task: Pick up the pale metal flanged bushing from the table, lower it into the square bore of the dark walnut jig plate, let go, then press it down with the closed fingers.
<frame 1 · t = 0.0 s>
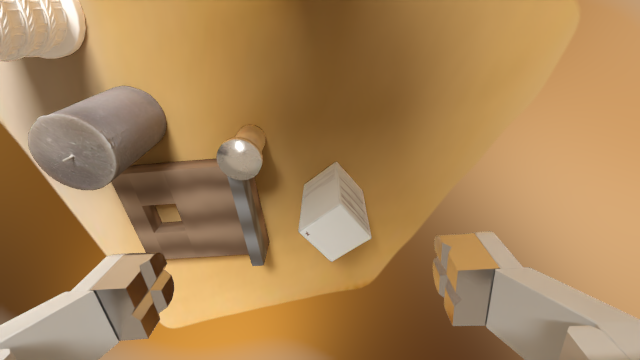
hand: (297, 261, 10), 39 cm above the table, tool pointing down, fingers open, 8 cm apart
decorative container: (40, 10, 41), on the table
pillar candle: (135, 116, 48), on the table
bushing: (251, 137, 49), on the table
supplement box: (333, 186, 54), on the table
jig: (199, 206, 56), on the table
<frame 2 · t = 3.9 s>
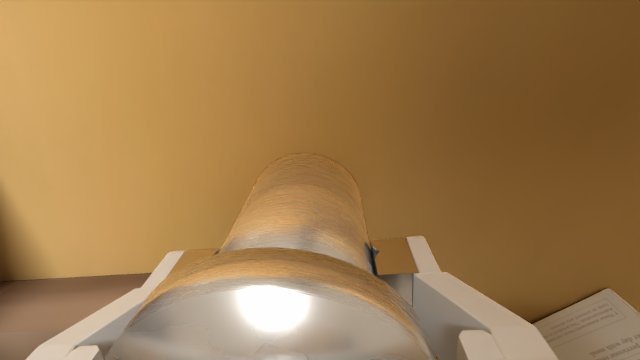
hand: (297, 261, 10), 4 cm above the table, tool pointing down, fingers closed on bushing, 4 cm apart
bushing: (306, 204, 13), on the table, touching gripper
supplement box: (561, 357, 16), on the table
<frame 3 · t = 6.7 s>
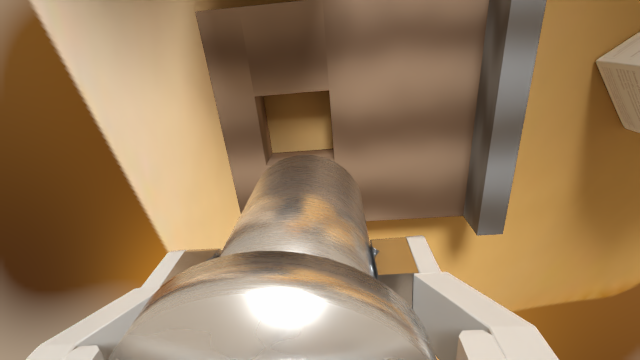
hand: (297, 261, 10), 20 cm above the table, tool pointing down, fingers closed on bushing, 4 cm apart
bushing: (307, 205, 13), point 17 cm above the table, touching gripper
jig: (355, 116, 28), on the table
when the fingers open (5 cm above the table, at t = 9.5 s): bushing stays where it is, resting in jig.
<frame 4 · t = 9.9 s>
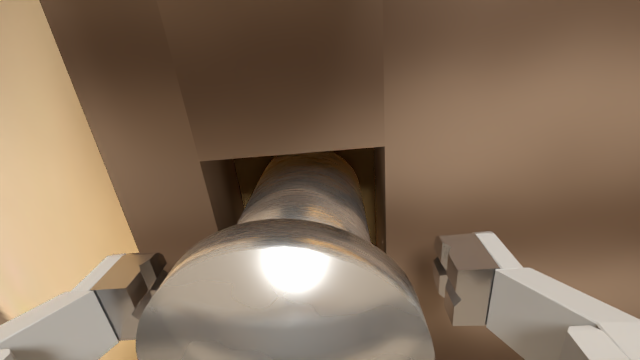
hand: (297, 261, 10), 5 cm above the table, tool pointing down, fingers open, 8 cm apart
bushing: (309, 194, 14), resting in jig
jig: (425, 185, 13), on the table
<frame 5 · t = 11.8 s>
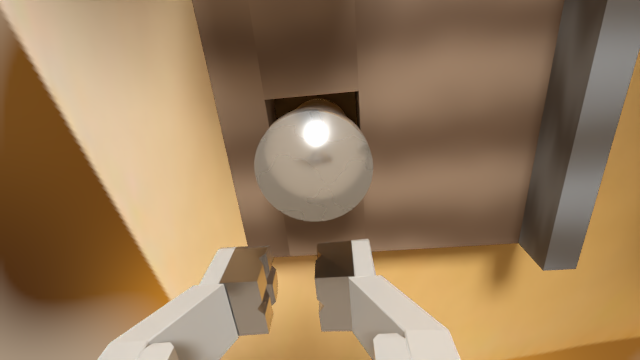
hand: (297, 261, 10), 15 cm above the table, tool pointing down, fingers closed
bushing: (318, 129, 23), resting in jig
jig: (386, 122, 23), on the table
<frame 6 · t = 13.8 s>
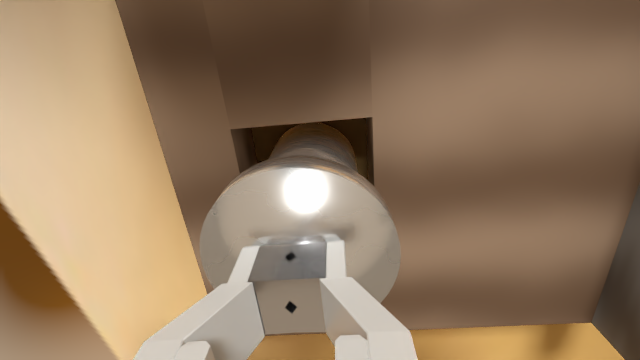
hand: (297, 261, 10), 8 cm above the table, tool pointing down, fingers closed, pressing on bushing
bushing: (313, 163, 17), resting in jig, touching gripper
jig: (408, 155, 16), on the table
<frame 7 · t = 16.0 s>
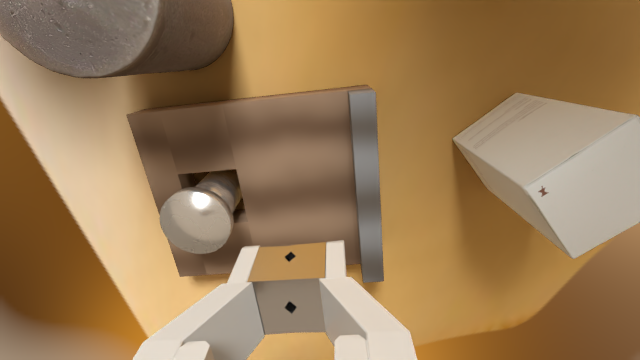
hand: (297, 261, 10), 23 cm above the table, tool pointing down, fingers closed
pillar candle: (182, 11, 28), on the table
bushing: (224, 187, 34), resting in jig
supplement box: (500, 142, 32), on the table
jig: (268, 183, 34), on the table
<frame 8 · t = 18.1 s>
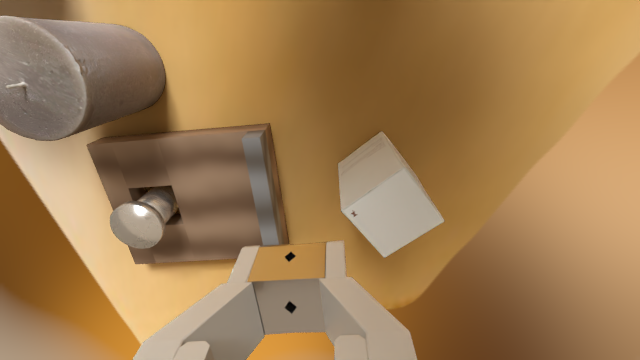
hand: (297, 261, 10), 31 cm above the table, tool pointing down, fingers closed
pillar candle: (126, 68, 38), on the table
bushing: (168, 196, 44), resting in jig
supplement box: (375, 166, 42), on the table
jig: (202, 193, 44), on the table
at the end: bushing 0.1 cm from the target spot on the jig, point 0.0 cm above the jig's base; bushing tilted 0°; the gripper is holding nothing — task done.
